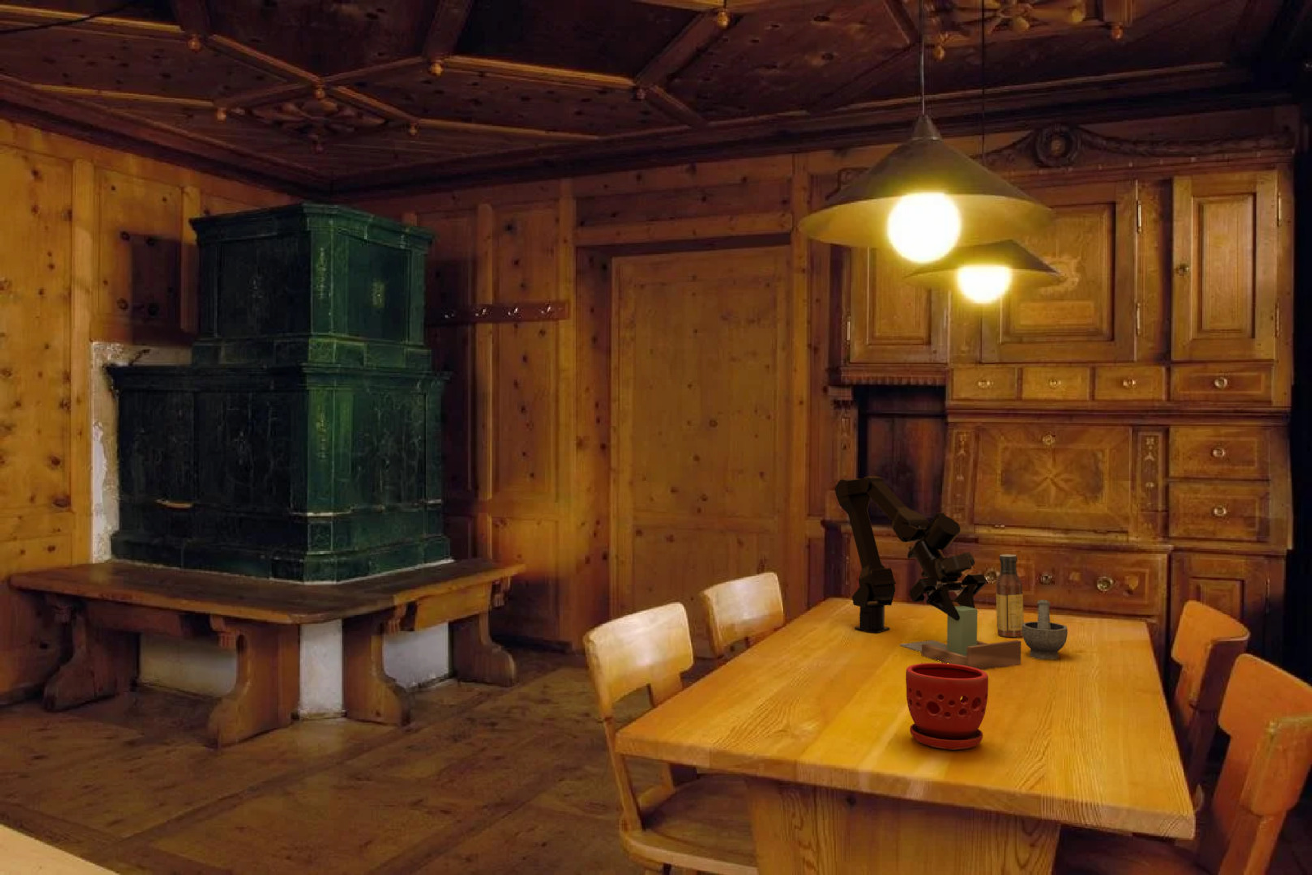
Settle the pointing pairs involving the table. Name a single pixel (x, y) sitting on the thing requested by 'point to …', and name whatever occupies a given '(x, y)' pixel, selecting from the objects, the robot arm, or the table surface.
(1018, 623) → the sauce bottle
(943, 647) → the felt mat
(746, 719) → the table surface
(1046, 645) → the mortar and pestle
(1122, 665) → the table surface
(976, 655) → the frame
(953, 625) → the green block
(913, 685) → the plant pot
